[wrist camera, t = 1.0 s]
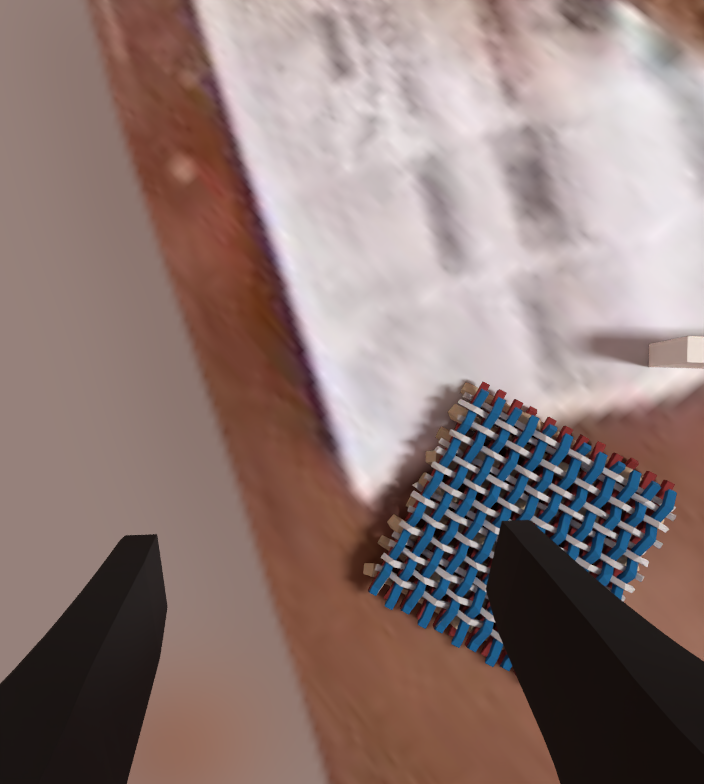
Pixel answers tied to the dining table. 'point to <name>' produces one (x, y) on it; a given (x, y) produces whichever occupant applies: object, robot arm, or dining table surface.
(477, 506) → the woven mat
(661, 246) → the dining table surface
